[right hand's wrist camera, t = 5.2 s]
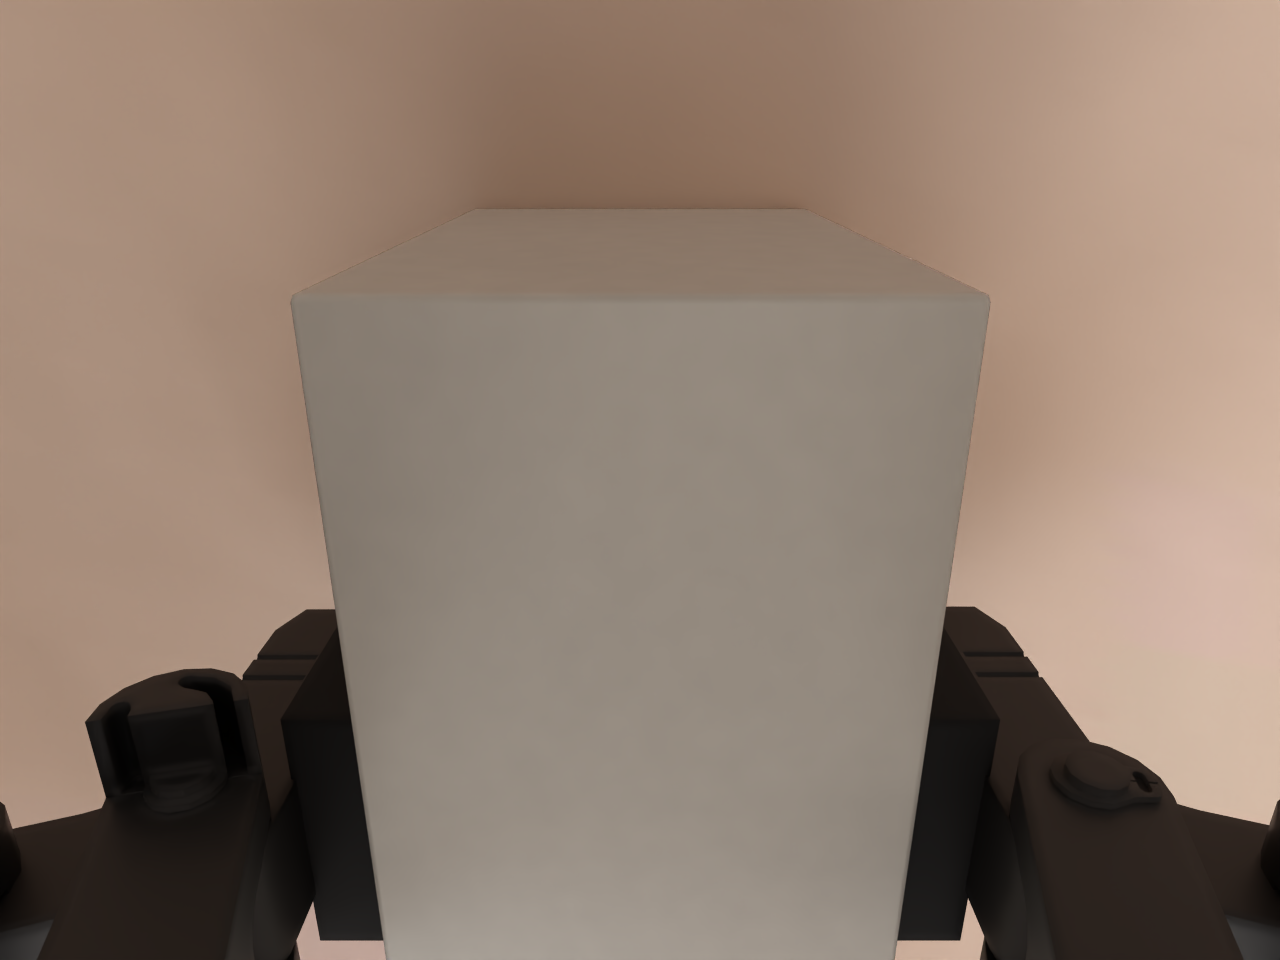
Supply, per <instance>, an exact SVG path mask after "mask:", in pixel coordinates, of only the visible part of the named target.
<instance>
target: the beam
mask: <svg viewBox="0 0 1280 960" xmlns="http://www.w3.org/2000/svg"><path fill="white" fill-rule="evenodd" d="M291 309H292V315H293V322H294V329H295V336H296V343H297V350H298V357H299V364H300V370H301V377H302V384H303V391H304V398H305V405H306V412H307V419H308V425H309V432H310V439H311V446H312V453H313V460H314V467H315V473H316V480H317V487H318V494H319V501H320V508H321V515H322V522H323V528H324V535H325V542H326V549H327V556H328V563H329V570H330V577H331V583H332V590H333V597H334V604H335V611H336V618H337V625H338V631H339V638H340V645H341V652H342V659H343V666H344V673H345V680H346V686H347V693H348V700H349V707H350V714H351V721H352V728H353V734H354V741H355V748H356V755H357V762H358V769H359V776H360V783H361V789H362V796H363V803H364V810H365V817H366V824H367V831H368V838H369V844H370V851H371V858H372V865H373V872H374V879H375V886H376V892H377V899H378V906H379V913H380V920H381V927H382V934H383V941H384V947H385V954H386V960H894V959H895V953H896V946H897V939H898V932H899V925H900V918H901V911H902V905H903V898H904V891H905V884H906V877H907V870H908V864H909V857H910V850H911V843H912V836H913V829H914V822H915V816H916V809H917V802H918V795H919V788H920V781H921V775H922V768H923V761H924V754H925V747H926V740H927V734H928V727H929V720H930V713H931V706H932V699H933V692H934V686H935V679H936V672H937V665H938V658H939V651H940V645H941V638H942V631H943V624H944V617H945V610H946V603H947V597H948V590H949V583H950V576H951V569H952V562H953V556H954V549H955V542H956V535H957V528H958V521H959V514H960V508H961V501H962V494H963V487H964V480H965V473H966V467H967V460H968V453H969V446H970V439H971V432H972V425H973V419H974V412H975V405H976V398H977V391H978V384H979V378H980V371H981V364H982V357H983V350H984V343H985V336H986V330H987V323H988V316H989V309H990V299H989V295H987V294H985V293H983V292H981V291H979V290H977V289H974V288H972V287H970V286H968V285H966V284H964V283H962V282H960V281H957V280H955V279H953V278H951V277H949V276H947V275H945V274H943V273H940V272H938V271H936V270H934V269H932V268H930V267H928V266H926V265H923V264H921V263H919V262H917V261H915V260H913V259H911V258H909V257H906V256H904V255H902V254H900V253H898V252H896V251H894V250H892V249H889V248H887V247H885V246H883V245H881V244H879V243H877V242H875V241H872V240H870V239H868V238H866V237H864V236H862V235H860V234H858V233H855V232H853V231H851V230H849V229H847V228H845V227H843V226H841V225H839V224H836V223H834V222H832V221H830V220H828V219H826V218H824V217H822V216H819V215H817V214H815V213H813V212H811V211H809V210H807V209H474V210H472V211H470V212H468V213H465V214H463V215H461V216H459V217H457V218H455V219H453V220H451V221H448V222H446V223H444V224H442V225H440V226H438V227H436V228H434V229H432V230H429V231H427V232H425V233H423V234H421V235H419V236H417V237H415V238H412V239H410V240H408V241H406V242H404V243H402V244H400V245H398V246H396V247H393V248H391V249H389V250H387V251H385V252H383V253H381V254H379V255H376V256H374V257H372V258H370V259H368V260H366V261H364V262H362V263H360V264H357V265H355V266H353V267H351V268H349V269H347V270H345V271H343V272H340V273H338V274H336V275H334V276H332V277H330V278H328V279H326V280H324V281H321V282H319V283H317V284H315V285H313V286H311V287H309V288H307V289H304V290H302V291H300V292H298V293H296V294H294V295H292V299H291Z"/></svg>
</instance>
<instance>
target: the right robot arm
mask: <svg viewBox="0 0 1280 960" xmlns="http://www.w3.org/2000/svg"><path fill="white" fill-rule="evenodd" d="M85 724H86V727H87V731H88V734H89V738H90V742H91V745H92V749H93V752H94V756H95V759H96V763H97V767H98V770H99V774H100V777H101V781H102V784H103V788H104V792H105V795H106V800H105V802H104V804H103V807H102V808H101V809H98V810H94V811H91V812H87V813H83V814H79V815H75V816H70V817H65V818H61V819H56V820H52V821H47V822H42V823H38V824H33V825H28V826H24V827H19V828H15V829H12V826H11V823H10V820H9V817H8V814H7V811H6V808H5V805H4V804H2V803H1V802H0V960H300V957H299V952H298V947H297V941H296V940H297V937H298V935H299V933H300V930H301V928H302V926H303V923H304V921H305V919H306V916H307V914H308V912H309V909H310V907H311V904H312V902H313V903H314V908H315V914H316V919H317V925H318V930H319V936H320V940H383V934H382V927H381V920H380V913H379V906H378V899H377V892H376V886H375V879H374V872H373V865H372V858H371V851H370V844H369V838H368V831H367V824H366V817H365V810H364V803H363V796H362V789H361V783H360V776H359V769H358V762H357V755H356V748H355V741H354V734H353V728H352V721H351V714H350V707H349V700H348V693H347V686H346V680H345V673H344V666H343V659H342V652H341V645H340V638H339V631H338V625H337V618H336V611H335V609H307V610H305V611H304V612H302V613H301V614H299V615H298V616H296V617H295V618H293V619H292V620H290V621H289V622H287V623H286V624H284V625H283V626H281V627H280V628H278V629H277V630H275V632H274V633H273V634H272V636H271V637H270V638H269V640H268V641H267V643H266V644H265V645H264V647H263V648H262V649H261V651H260V652H259V654H258V658H257V660H253V662H252V663H251V664H250V666H249V667H248V669H247V670H246V671H245V673H244V674H243V679H242V680H241V679H240V678H238V677H237V676H236V675H235V674H233V673H229V672H225V671H221V670H216V669H212V668H210V669H183V670H179V671H174V672H170V673H166V674H161V675H157V676H153V677H150V678H148V679H146V680H143V681H141V682H138V683H136V684H133V685H131V686H128V687H126V688H124V689H122V690H121V691H119V692H118V693H116V694H115V695H113V696H112V697H110V698H109V699H107V700H106V701H104V702H103V703H101V704H100V705H99V706H98V707H97V709H96V710H95V711H94V712H93V713H92V714H91V716H90V717H89V718H88V719H87V720H86V722H85ZM968 899H969V901H970V903H971V906H972V908H973V910H974V913H975V915H976V917H977V920H978V922H979V924H980V927H981V929H982V931H983V934H984V941H983V947H982V952H981V957H980V960H1280V800H1279V801H1277V804H1276V807H1275V810H1274V813H1273V816H1272V819H1271V822H1270V825H1265V824H1261V823H1256V822H1251V821H1247V820H1242V819H1237V818H1233V817H1228V816H1223V815H1219V814H1214V813H1209V812H1205V811H1200V810H1197V809H1193V808H1189V807H1186V806H1182V805H1179V804H1177V803H1176V800H1175V798H1174V796H1173V795H1172V793H1171V792H1170V791H1169V789H1168V788H1167V786H1166V785H1165V784H1164V782H1163V781H1162V779H1161V778H1160V777H1159V776H1158V775H1156V774H1155V773H1154V772H1152V771H1151V770H1150V769H1148V768H1147V767H1146V766H1144V765H1143V764H1142V763H1140V762H1139V761H1138V760H1136V759H1134V758H1132V757H1130V756H1128V755H1125V754H1123V753H1121V752H1119V751H1117V750H1115V749H1113V748H1111V747H1108V746H1104V745H1100V744H1096V743H1092V742H1090V741H1089V740H1088V739H1087V737H1086V736H1085V735H1084V733H1083V732H1082V731H1081V729H1080V728H1079V726H1078V725H1077V724H1076V722H1075V721H1074V720H1073V718H1072V717H1071V716H1070V714H1069V713H1068V712H1067V710H1066V709H1065V707H1064V706H1063V705H1062V703H1061V702H1060V701H1059V699H1058V698H1057V697H1056V695H1055V694H1054V692H1053V691H1052V690H1051V688H1050V687H1049V686H1048V684H1047V683H1046V682H1045V680H1044V679H1043V678H1042V677H1039V675H1038V671H1037V669H1036V668H1035V667H1034V665H1033V664H1032V663H1031V661H1030V660H1029V658H1028V657H1024V652H1023V650H1022V649H1021V648H1020V646H1019V645H1018V644H1017V642H1016V641H1015V639H1014V638H1013V637H1012V635H1011V634H1010V633H1009V631H1008V630H1007V629H1006V627H1004V626H1003V625H1001V624H1000V623H998V622H997V621H995V620H994V619H992V618H991V617H989V616H988V615H986V614H985V613H983V612H982V611H980V610H979V609H977V608H976V607H946V610H945V617H944V624H943V631H942V638H941V645H940V651H939V658H938V665H937V672H936V679H935V686H934V692H933V699H932V706H931V713H930V720H929V727H928V734H927V740H926V747H925V754H924V761H923V768H922V775H921V781H920V788H919V795H918V802H917V809H916V816H915V822H914V829H913V836H912V843H911V850H910V857H909V864H908V870H907V877H906V884H905V891H904V898H903V905H902V911H901V918H900V925H899V932H898V939H897V940H960V939H961V933H962V928H963V922H964V917H965V911H966V906H967V900H968Z"/></svg>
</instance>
